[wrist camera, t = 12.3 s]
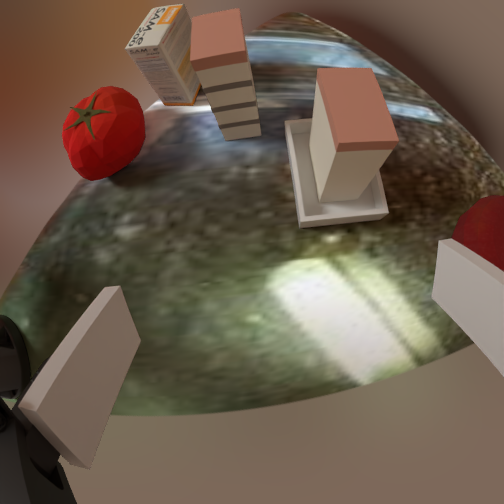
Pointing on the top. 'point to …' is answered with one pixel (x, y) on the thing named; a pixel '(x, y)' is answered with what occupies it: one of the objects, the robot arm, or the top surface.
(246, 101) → the block
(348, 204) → the tray
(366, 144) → the stub
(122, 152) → the tomato
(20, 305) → the top surface
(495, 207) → the apple
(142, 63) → the supplement box
